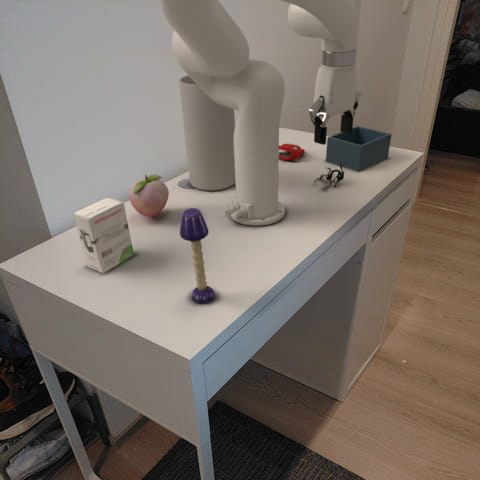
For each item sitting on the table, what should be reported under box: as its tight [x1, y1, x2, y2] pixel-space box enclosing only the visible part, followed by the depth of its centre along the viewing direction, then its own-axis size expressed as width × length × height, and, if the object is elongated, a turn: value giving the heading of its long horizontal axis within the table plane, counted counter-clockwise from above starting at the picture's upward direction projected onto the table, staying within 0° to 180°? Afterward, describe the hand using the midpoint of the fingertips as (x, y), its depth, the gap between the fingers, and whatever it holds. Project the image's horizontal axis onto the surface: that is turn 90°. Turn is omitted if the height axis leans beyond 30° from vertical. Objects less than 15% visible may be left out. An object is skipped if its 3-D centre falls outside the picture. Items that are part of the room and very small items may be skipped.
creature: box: [313, 162, 346, 191], centre depth 122 cm, size 8×5×8 cm
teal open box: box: [325, 125, 392, 172], centre depth 134 cm, size 13×11×7 cm
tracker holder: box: [279, 143, 305, 162], centre depth 139 cm, size 12×4×10 cm
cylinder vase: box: [178, 74, 236, 192], centre depth 120 cm, size 12×12×25 cm
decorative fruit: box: [128, 174, 170, 218], centre depth 110 cm, size 9×8×10 cm
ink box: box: [72, 197, 135, 274], centre depth 94 cm, size 9×5×12 cm, turn 143°
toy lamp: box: [179, 207, 216, 305], centre depth 81 cm, size 5×5×17 cm
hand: (333, 137), depth 116 cm, fingers open, 9 cm apart
